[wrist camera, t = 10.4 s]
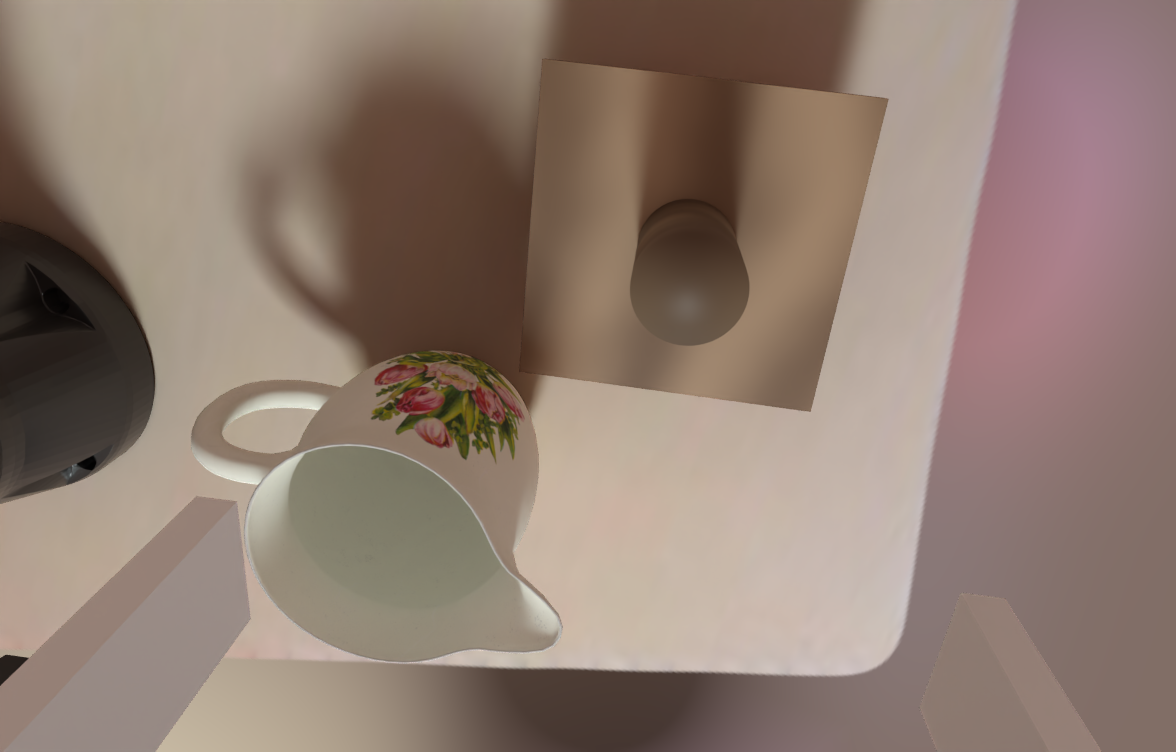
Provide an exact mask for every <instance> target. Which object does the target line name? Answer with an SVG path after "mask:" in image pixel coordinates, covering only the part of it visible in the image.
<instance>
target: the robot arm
mask: <svg viewBox="0 0 1176 752" xmlns="http://www.w3.org/2000/svg"><path fill="white" fill-rule="evenodd" d="M153 398H154V377H153V369H152V364H151V359H150V355H149V352H148V349H147V346H146V343H145V340H144V338H143V335H142V333H141V331H140V329H139V327H138V325H137V323H136V321H135V319H134V317H133V316H132V314H131V312H130V311H129V309H128V308H127V306H126V305H125V303H124V302H123V301H122V299H121V298H120V297H119V295H118V294H117V293H116V291H115V290H114V289H113V288H112V287H111V286H110V284H109V283H108V282H107V281H106V280H105V279H104V278H103V277H102V276H101V275H100V274H99V273H98V272H97V271H96V270H95V269H94V268H92V267H91V266H90V265H89V264H88V263H87V262H85V261H84V260H83V259H82V258H80V257H79V256H78V255H76V254H75V253H73V252H72V251H71V250H69V249H67V248H66V247H64V246H63V245H61V244H59V243H57V242H56V241H54V240H52V239H50V238H48V237H46V236H44V235H42V234H40V233H37V232H35V231H32V230H30V229H26V228H23V227H20V226H17V225H13V224H9V223H3V222H0V504H2V503H6V502H9V501H13V500H16V499H20V498H23V497H27V496H30V495H34V494H37V493H41V492H44V491H48V490H52V489H55V488H59V487H62V486H66V485H69V484H72V483H75V482H78V481H80V480H83V479H85V478H87V477H89V476H91V475H93V474H95V473H96V472H98V471H100V470H101V469H102V468H104V467H105V466H107V465H108V464H109V463H111V462H112V461H113V460H115V459H116V458H118V457H119V456H120V455H122V454H123V453H125V452H126V451H127V450H128V449H129V448H130V447H131V446H132V445H133V444H134V443H135V442H136V441H137V439H138V438H139V437H140V435H141V434H142V432H143V430H144V429H145V427H146V424H147V422H148V420H149V417H150V414H151V410H152V405H153ZM250 619H251V618H250V610H249V601H248V592H247V584H246V575H245V567H244V558H243V549H242V541H241V532H240V523H239V515H238V506H237V501H230V500H222V499H214V498H206V497H198V496H196V497H195V498H194V499H193V500H192V501H191V502H190V503H189V504H188V505H187V506H186V507H185V508H184V509H183V510H182V511H181V512H180V513H179V514H178V515H177V516H176V517H175V518H174V519H173V520H171V521H170V522H169V523H168V524H167V525H166V526H165V527H164V528H163V529H162V530H161V531H160V532H159V533H158V534H157V535H156V536H155V537H154V538H153V539H152V540H151V541H150V542H149V543H148V544H147V545H146V546H145V547H144V548H143V549H141V550H140V551H139V552H138V553H137V554H136V555H135V556H134V557H133V558H132V559H131V560H130V561H129V562H128V563H127V564H126V565H125V566H124V567H123V568H122V569H121V570H120V571H119V572H118V573H117V574H116V575H115V576H114V577H113V578H111V579H110V580H109V581H108V582H107V583H106V584H105V585H104V586H103V587H102V588H101V589H100V590H99V591H98V592H97V593H96V594H95V595H94V596H93V597H92V598H91V599H90V600H89V601H88V602H87V603H86V604H85V605H84V606H82V607H81V608H80V609H79V610H78V611H77V612H76V613H75V614H74V615H73V616H72V617H71V618H70V619H69V620H68V621H67V622H66V623H65V624H64V625H63V626H62V627H61V628H60V629H59V630H58V631H57V632H56V633H55V634H54V635H52V636H51V637H50V638H49V639H48V640H47V641H46V642H45V643H44V644H43V645H42V646H41V647H40V648H39V649H38V650H37V651H36V652H35V653H34V654H33V655H32V656H31V657H30V658H26V657H18V656H11V655H5V656H3V657H1V658H0V752H155V751H156V750H157V749H158V747H159V745H160V744H161V743H162V742H163V740H164V739H165V737H166V736H167V735H168V733H169V732H170V730H171V729H172V728H173V726H174V725H175V723H176V722H177V721H178V719H179V718H180V716H181V715H182V714H183V712H184V711H185V709H186V708H187V707H188V705H189V704H190V703H191V701H192V700H193V698H194V697H195V696H196V694H197V693H198V691H199V690H200V688H201V687H202V686H203V684H204V683H205V682H206V680H207V679H208V677H209V676H210V675H211V673H212V672H213V670H214V669H215V668H216V666H217V665H218V663H219V662H220V661H221V659H222V658H223V656H224V655H225V654H226V652H227V651H228V650H229V648H230V647H231V645H232V644H233V643H234V641H235V640H236V638H237V637H238V636H239V634H240V633H241V631H242V630H243V629H244V627H245V626H246V624H247V623H248V622H249V620H250ZM919 708H920V710H921V713H922V716H923V718H924V721H925V723H926V726H927V728H928V731H929V733H930V736H931V738H932V741H933V743H934V746H935V749H936V751H937V752H1102V751H1101V750H1100V748H1099V747H1098V745H1097V743H1096V742H1095V740H1094V739H1093V737H1092V736H1091V734H1090V732H1089V731H1088V729H1087V728H1086V726H1085V724H1084V723H1083V721H1082V720H1081V718H1080V717H1079V715H1078V713H1077V712H1076V710H1075V709H1074V707H1073V705H1072V704H1071V702H1070V701H1069V699H1068V698H1067V696H1066V694H1065V693H1064V691H1063V690H1062V688H1061V686H1060V685H1059V683H1058V682H1057V680H1056V678H1055V677H1054V675H1053V674H1052V672H1051V671H1050V669H1049V667H1048V666H1047V664H1046V663H1045V661H1044V660H1043V658H1042V656H1041V655H1040V653H1039V652H1038V650H1037V648H1036V647H1035V645H1034V644H1033V642H1032V641H1031V639H1030V637H1029V636H1028V635H1027V633H1026V631H1025V629H1024V628H1023V626H1022V625H1021V623H1020V621H1019V620H1018V618H1017V617H1016V615H1015V614H1014V612H1013V610H1012V609H1011V607H1010V606H1009V604H1008V602H1007V601H1006V599H1005V598H997V597H989V596H981V595H974V594H966V593H961V594H960V597H959V599H958V602H957V605H956V608H955V610H954V613H953V616H952V619H951V621H950V624H949V627H948V630H947V632H946V635H945V638H944V641H943V644H942V646H941V649H940V652H939V655H938V657H937V660H936V663H935V666H934V668H933V671H932V674H931V677H930V680H929V682H928V685H927V688H926V691H925V693H924V696H923V699H922V702H921V705H920V707H919Z"/></svg>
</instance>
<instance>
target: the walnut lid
mask: <svg viewBox="0 0 1176 752" xmlns="http://www.w3.org/2000/svg"><path fill="white" fill-rule="evenodd" d="M887 103H888V99H886V98H880V97H872V96H863V95H854V94H846V93H837V92H828V91H820V90H811V89H803V88H794V87H785V86H777V85H768V84H759V83H751V82H742V81H733V80H725V79H716V78H708V77H699V76H690V75H682V74H673V73H664V72H656V71H647V70H638V69H630V68H621V67H613V66H604V65H595V64H587V63H578V62H569V61H561V60H552V59H542V72H541V85H540V99H539V112H538V126H537V139H536V153H535V166H534V180H533V193H532V207H531V220H530V234H529V247H528V261H527V274H526V288H525V301H524V315H523V328H522V342H521V355H520V369H519V372H527V373H534V374H541V375H548V376H555V377H563V378H570V379H577V380H584V381H592V382H599V383H606V384H613V385H621V386H628V387H635V388H642V389H649V390H657V391H664V392H671V393H678V394H686V395H693V396H700V397H707V398H715V399H722V400H729V401H736V402H744V403H751V404H758V405H765V406H772V407H780V408H787V409H794V410H801V411H809V412H811V408H812V404H813V400H814V396H815V392H816V388H817V384H818V380H819V376H820V372H821V368H822V364H823V360H824V356H825V352H826V348H827V344H828V340H829V336H830V332H831V328H832V324H833V320H834V316H835V312H836V307H837V303H838V299H839V295H840V291H841V287H842V283H843V279H844V275H845V271H846V267H847V263H848V259H849V255H850V251H851V247H852V243H853V239H854V235H855V231H856V227H857V223H858V219H859V215H860V211H861V207H862V203H863V199H864V195H865V191H866V187H867V183H868V179H869V175H870V171H871V167H872V163H873V159H874V155H875V151H876V147H877V143H878V139H879V135H880V131H881V127H882V123H883V119H884V115H885V111H886V107H887Z"/></svg>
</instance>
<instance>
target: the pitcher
mask: <svg viewBox="0 0 1176 752" xmlns="http://www.w3.org/2000/svg"><path fill="white" fill-rule="evenodd" d="M269 408H307V409H314V410H319V411H318V412H317V413H316V415H315V416H314V417H313V419H312V420H311V421H310V423H309V424H308V426H307V428H306V430H305V431H304V433H303V436H302V438H301V440H300V442H299V444H298V446H296V447H295V448H293V449H292V450H290V451H285V452H281V453H275V454H268V453H259V452H253V451H248V450H244V449H241V448H238V447H236V446H233V445H231V444H230V443H228V442H227V441H225V440H224V438H223V436H222V433H223V431H224V430H225V428H226V427H227V426H228V425H229V424H230V423H231V422H232V421H234V420H235V419H237V418H239V417H240V416H242V415H245V414H247V413H250V412H253V411H257V410H262V409H269ZM191 449H192V451H193V454H194V456H195V458H196V459H197V460H198V461H199V462H200V463H201V464H202V465H203V466H204V467H205V468H206V469H207V470H209V471H210V472H212V473H214V474H215V475H218V476H220V477H223V478H226V479H229V480H233V481H237V482H242V483H248V484H258V486H257V487H256V489H255V491H254V493H253V495H252V497H251V499H250V501H249V505H248V508H247V512H246V516H245V525H244V536H245V546H246V551H247V556H248V559H249V562H250V565H251V568H252V570H253V572H254V574H255V576H256V578H257V581H258V583H259V584H260V586H261V587H262V589H263V590H264V592H265V593H266V595H267V596H268V598H269V599H270V600H271V601H272V602H273V604H274V605H275V606H276V607H277V608H278V609H279V610H280V611H281V612H282V613H283V614H284V615H285V616H286V617H287V618H288V619H289V620H290V621H291V622H293V623H294V624H295V625H296V626H298V627H299V628H300V629H302V630H303V631H305V632H306V633H308V634H309V635H311V636H312V637H314V638H315V639H317V640H319V641H321V642H323V643H325V644H327V645H329V646H331V647H333V648H336V649H338V650H341V651H343V652H346V653H349V654H352V655H355V656H358V657H362V658H366V659H370V660H375V661H381V662H388V663H420V662H425V661H431V660H435V659H439V658H442V657H446V656H449V655H452V654H456V653H460V652H465V651H473V650H483V651H490V652H501V653H533V652H543V651H545V650H547V649H549V648H551V647H553V646H555V645H556V643H557V642H558V641H559V639H560V638H561V633H562V628H563V626H562V623H561V620H560V617H559V614H558V613H557V612H556V610H555V609H554V608H553V607H552V605H551V604H550V603H549V602H548V600H547V599H546V598H545V597H544V595H543V594H541V593H540V592H539V591H538V590H537V589H536V588H535V587H534V586H533V585H532V584H531V583H529V582H528V581H527V580H526V579H525V578H524V577H523V576H522V575H520V574H519V571H518V569H517V567H516V563H515V558H514V552H515V550H516V548H517V546H518V544H519V543H520V541H521V539H522V537H523V534H524V532H525V530H526V527H527V525H528V522H529V519H530V515H531V512H532V508H533V505H534V501H535V496H536V490H537V483H538V472H539V454H538V447H537V440H536V434H535V430H534V427H533V424H532V420H531V417H530V414H529V412H528V410H527V408H526V406H525V404H524V402H523V400H522V398H521V397H520V395H519V393H518V392H517V390H516V389H515V388H514V387H513V385H512V384H511V383H510V382H509V381H508V380H507V379H506V378H505V377H504V376H503V375H502V374H501V373H499V372H498V371H497V370H495V369H494V368H493V367H491V366H489V365H488V364H486V363H484V362H483V361H480V360H478V359H476V358H474V357H471V356H468V355H465V354H461V353H457V352H451V351H420V352H415V353H410V354H405V355H400V356H397V357H395V358H392V359H389V360H386V361H384V362H381V363H379V364H377V365H375V366H373V367H371V368H369V369H367V370H365V371H364V372H362V373H360V374H358V375H357V376H356V377H354V378H353V379H352V380H350V381H349V382H348V383H346V384H345V385H344V386H342V387H337V386H332V385H327V384H322V383H317V382H310V381H301V380H270V381H259V382H254V383H249V384H245V385H242V386H240V387H237V388H234V389H232V390H230V391H228V392H226V393H225V394H223V395H221V396H219V397H218V398H217V399H216V400H214V401H213V402H212V403H211V404H209V405H208V406H207V407H206V408H205V409H204V410H203V411H202V412H201V413H200V415H199V416H198V417H197V419H196V421H195V424H194V426H193V430H192V436H191Z"/></svg>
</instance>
